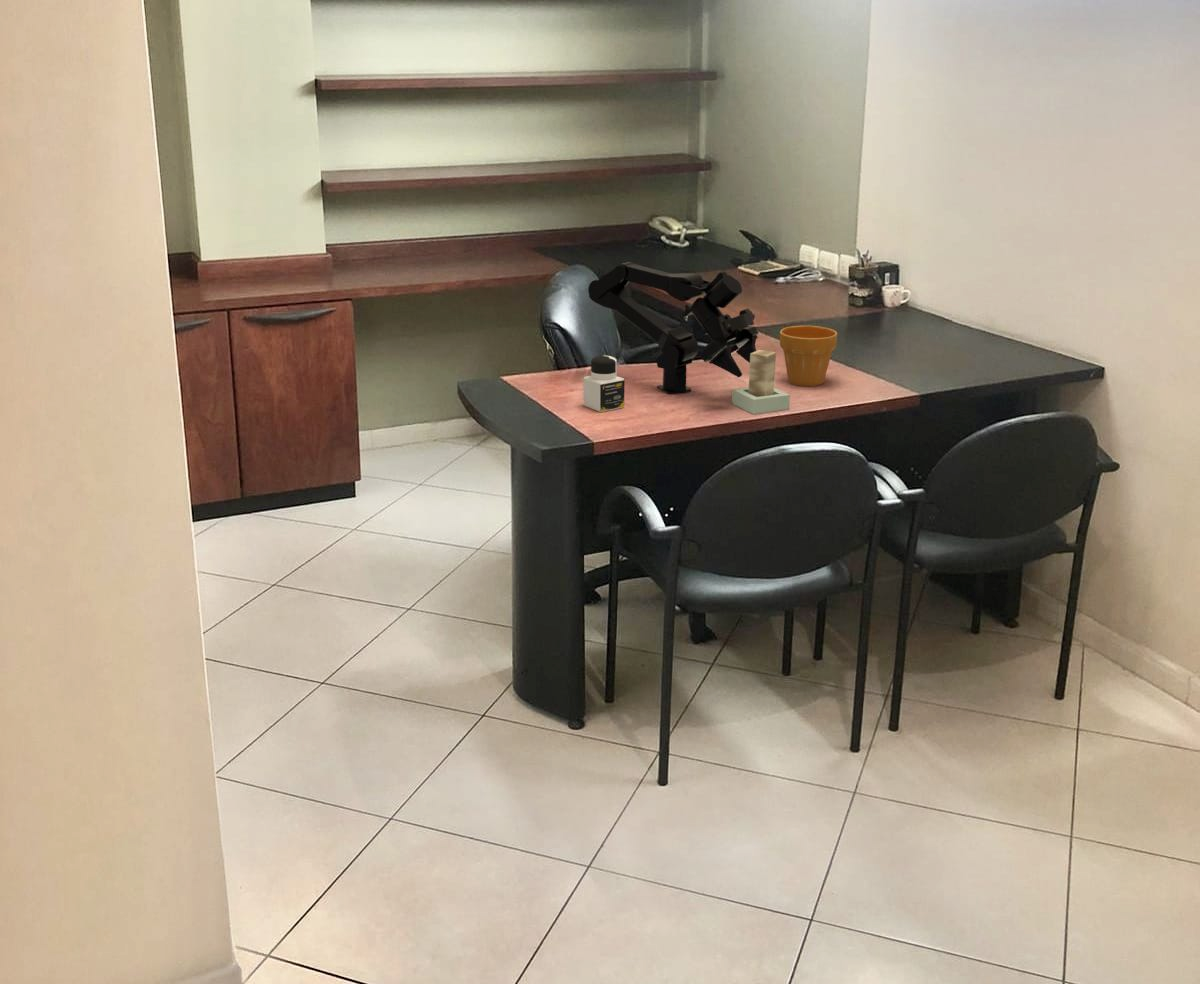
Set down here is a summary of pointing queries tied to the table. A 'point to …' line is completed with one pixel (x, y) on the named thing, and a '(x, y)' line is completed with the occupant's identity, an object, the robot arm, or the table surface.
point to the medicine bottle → (603, 385)
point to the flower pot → (807, 353)
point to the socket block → (760, 401)
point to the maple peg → (762, 373)
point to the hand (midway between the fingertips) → (750, 372)
